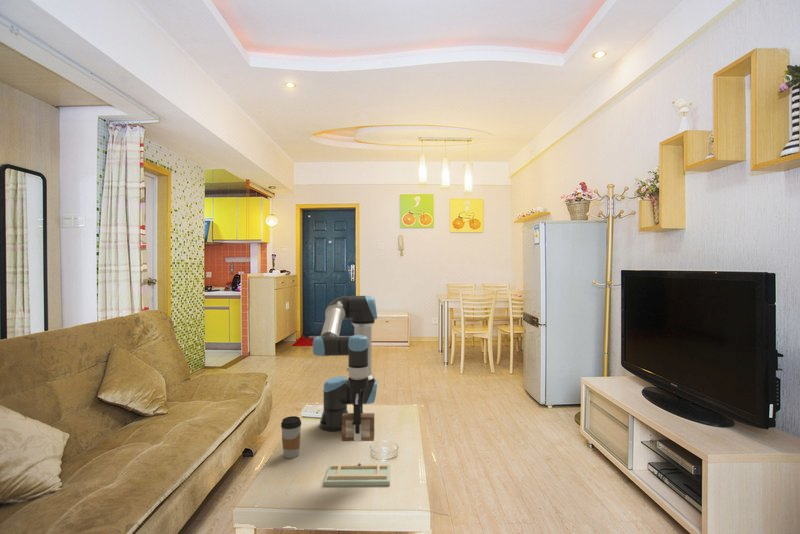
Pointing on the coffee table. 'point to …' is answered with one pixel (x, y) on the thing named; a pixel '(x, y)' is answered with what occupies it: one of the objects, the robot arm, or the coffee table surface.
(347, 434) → the brown wooden picture frame
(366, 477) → the mint cabinet door
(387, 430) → the coffee table surface
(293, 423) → the coffee cup
